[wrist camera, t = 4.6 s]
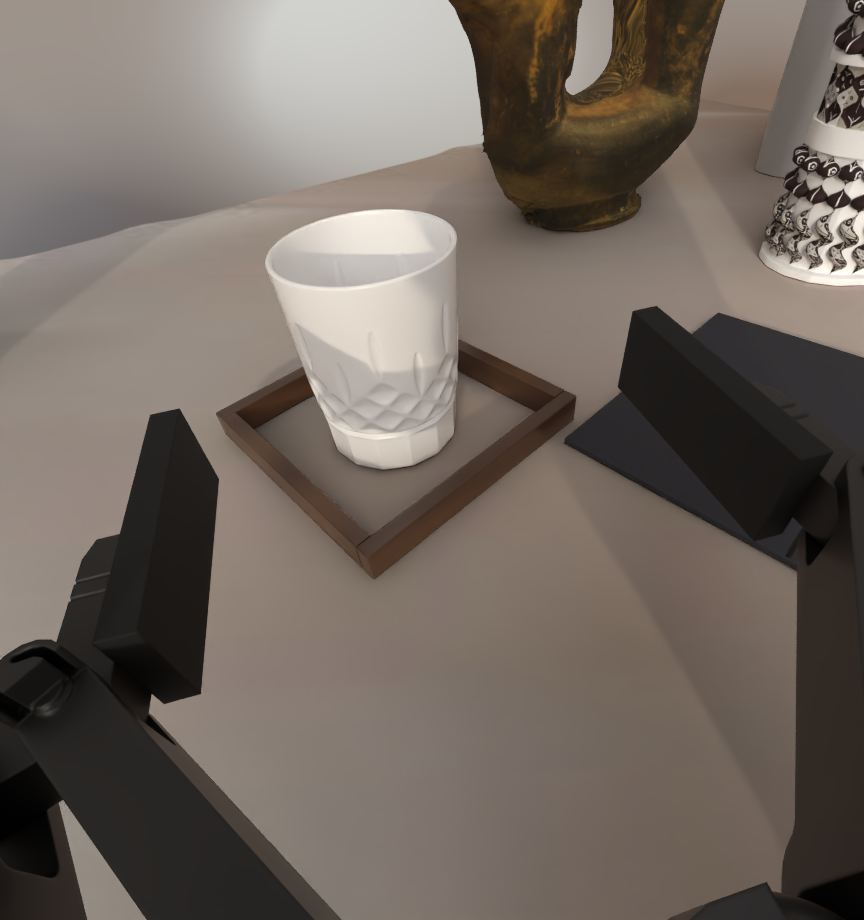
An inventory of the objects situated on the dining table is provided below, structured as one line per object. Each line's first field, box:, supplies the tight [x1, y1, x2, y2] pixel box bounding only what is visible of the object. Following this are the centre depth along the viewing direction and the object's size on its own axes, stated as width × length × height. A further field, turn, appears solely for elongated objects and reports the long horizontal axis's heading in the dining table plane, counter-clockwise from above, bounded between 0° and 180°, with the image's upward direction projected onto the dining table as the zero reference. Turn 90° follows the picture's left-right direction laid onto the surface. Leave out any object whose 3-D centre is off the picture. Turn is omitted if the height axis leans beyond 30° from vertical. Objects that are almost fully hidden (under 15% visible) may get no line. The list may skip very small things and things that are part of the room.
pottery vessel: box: [449, 0, 725, 231], centre depth 41 cm, size 25×11×20 cm, turn 122°
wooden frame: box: [216, 339, 576, 579], centre depth 27 cm, size 14×14×2 cm
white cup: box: [265, 209, 458, 470], centre depth 24 cm, size 8×8×10 cm
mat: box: [565, 313, 864, 570], centre depth 24 cm, size 18×16×1 cm
